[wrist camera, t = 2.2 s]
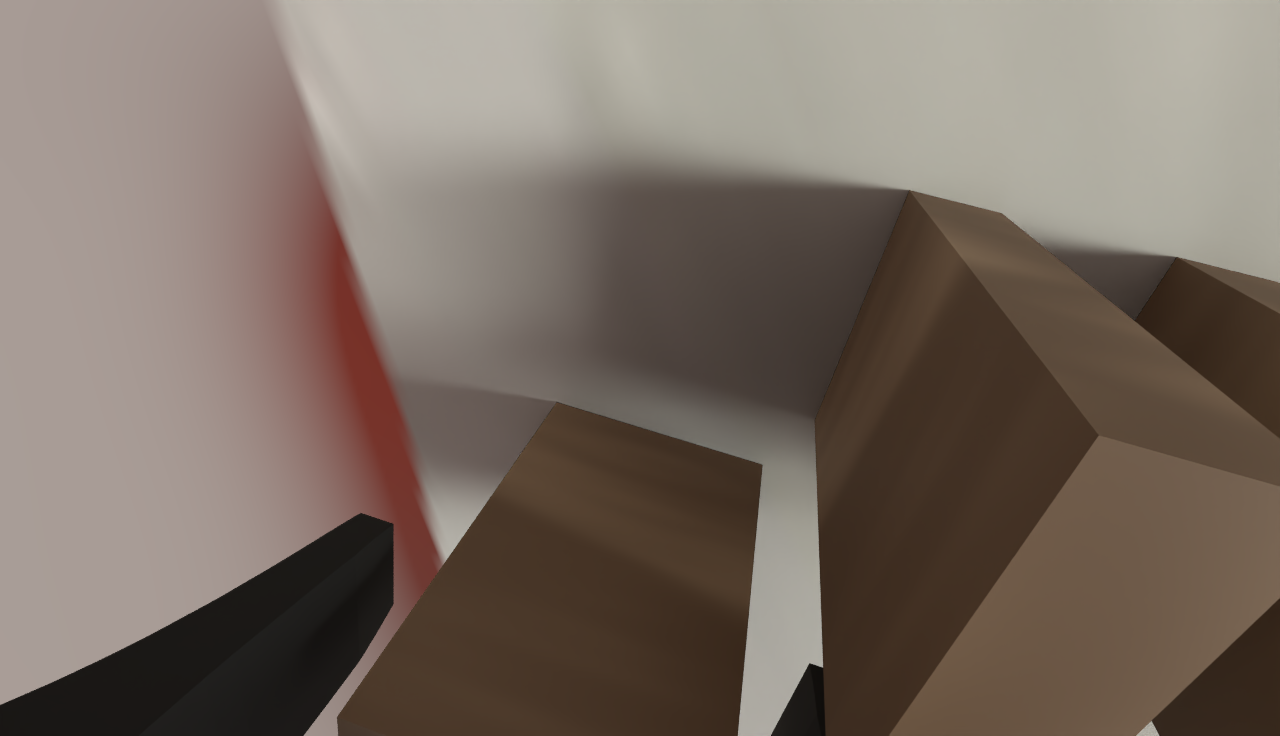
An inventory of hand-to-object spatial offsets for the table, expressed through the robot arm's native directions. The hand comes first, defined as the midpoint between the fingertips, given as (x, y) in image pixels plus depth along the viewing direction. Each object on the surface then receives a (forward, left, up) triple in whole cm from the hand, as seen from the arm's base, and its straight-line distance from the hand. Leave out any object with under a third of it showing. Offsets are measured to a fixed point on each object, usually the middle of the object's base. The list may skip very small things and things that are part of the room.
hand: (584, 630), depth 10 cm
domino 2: (0, -6, -5) cm, 8 cm away
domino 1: (0, 0, -5) cm, 5 cm away
